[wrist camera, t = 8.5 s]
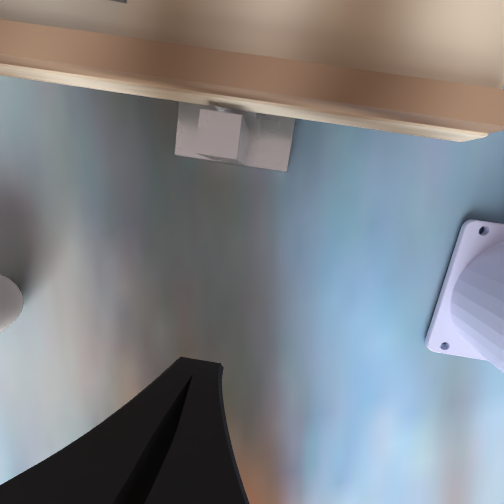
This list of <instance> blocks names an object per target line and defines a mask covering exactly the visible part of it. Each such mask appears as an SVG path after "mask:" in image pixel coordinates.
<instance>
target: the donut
mask: <svg viewBox="0 0 504 504" xmlns="http://www.w3.org/2000/svg"><path fill="white" fill-rule="evenodd" d="M22 307H23V296H22V293H21V291H20V290H19V288H18V286H17V285H16V284H15V283H14V282H12V281H11V280H10V279H9V278H7V277H5V276H2V275H0V332H1V331H3V330H4V329H5V328H7V327H8V326H9V325H10V324H11V323H13V322H14V321H15V320H16V319H17V317H18V316H19V314H20V313H21V311H22Z"/></svg>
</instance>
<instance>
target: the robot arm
mask: <svg viewBox="0 0 504 504" xmlns="http://www.w3.org/2000/svg"><path fill="white" fill-rule="evenodd" d="M481 227H484V231H483V233H481V234H479V229H480V228H481ZM444 342H446V344H445V345H444V346H441V344H442V343H444ZM425 345H426V346H427V348H428V349H429V350H431V351H433V352H438V353H444V354H451V355H457V356H463V357H469V358H475V359H481V360H487V361H489V362H491V363H492V364H493V365H494V366H495V367H497V368H498V369H499V370H500V371H502V372H503V373H504V224H500V223H493V222H487V221H480V220H474V219H473V220H468V221H466V222H465V223H463V225H462V227H461V230H460V233H459V236H458V239H457V242H456V246H455V249H454V252H453V255H452V258H451V261H450V264H449V267H448V271H447V274H446V277H445V280H444V283H443V286H442V289H441V293H440V296H439V299H438V302H437V305H436V308H435V311H434V315H433V318H432V321H431V324H430V327H429V330H428V333H427V337H426V340H425ZM222 374H223V366H222V365H221V364H220V363H215V362H209V361H203V360H197V359H191V358H185V357H180V358H179V359H177V360H176V361H175V362H174V363H173V364H172V365H171V366H170V367H169V368H168V369H166V370H165V371H164V372H163V373H162V374H161V375H160V376H159V377H158V378H156V379H155V380H154V381H153V382H152V383H151V384H150V385H148V386H147V387H146V388H145V389H144V390H142V391H141V392H140V393H139V394H138V395H137V396H135V397H134V398H133V399H132V400H130V401H129V402H128V403H127V404H125V405H124V406H123V407H121V408H120V409H119V410H117V411H116V412H115V413H114V414H112V415H111V416H110V417H108V418H107V419H106V420H104V421H103V422H102V423H100V424H99V425H97V426H96V427H95V428H93V429H92V430H90V431H89V432H87V433H86V434H84V435H83V436H82V437H80V438H79V439H77V440H75V441H74V442H72V443H71V444H69V445H68V446H66V447H65V448H63V449H62V450H60V451H58V452H57V453H55V454H54V455H52V456H50V457H49V458H47V459H45V460H43V461H42V462H40V463H38V464H37V465H35V466H33V467H31V468H30V469H28V470H26V471H24V472H23V473H21V474H19V475H17V476H16V477H14V478H12V479H10V480H9V481H7V482H5V483H3V484H1V485H0V504H249V501H248V498H247V495H246V492H245V489H244V487H243V483H242V480H241V477H240V474H239V471H238V467H237V464H236V460H235V457H234V453H233V449H232V445H231V441H230V436H229V432H228V427H227V422H226V416H225V410H224V404H223V395H222Z"/></svg>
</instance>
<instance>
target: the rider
mask: <svg viewBox="0 0 504 504" xmlns="http://www.w3.org/2000/svg"><path fill="white" fill-rule="evenodd" d="M110 1H116V2H121V3H127V0H110Z"/></svg>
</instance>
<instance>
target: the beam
mask: <svg viewBox="0 0 504 504" xmlns="http://www.w3.org/2000/svg"><path fill="white" fill-rule="evenodd" d="M0 75H2V76H9V77H16V78H23V79H30V80H37V81H44V82H51V83H57V84H64V85H71V86H78V87H85V88H92V89H99V90H106V91H113V92H119V93H126V94H133V95H140V96H147V97H154V98H161V99H168V100H175V101H181V102H188V103H195V104H202V105H209V106H216V107H223V108H230V109H236V110H243V111H250V112H257V113H264V114H271V115H278V116H285V117H292V118H298V119H305V120H312V121H319V122H326V123H333V124H340V125H347V126H354V127H360V128H367V129H374V130H381V131H388V132H395V133H402V134H409V135H416V136H422V137H429V138H436V139H443V140H450V141H457V142H464V141H469V140H473V139H478V138H483V137H487V136H488V134H489V133H493V132H498V131H502V130H504V89H502V88H503V85H504V0H127V3H121V2H116V1H110V0H0Z"/></svg>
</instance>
